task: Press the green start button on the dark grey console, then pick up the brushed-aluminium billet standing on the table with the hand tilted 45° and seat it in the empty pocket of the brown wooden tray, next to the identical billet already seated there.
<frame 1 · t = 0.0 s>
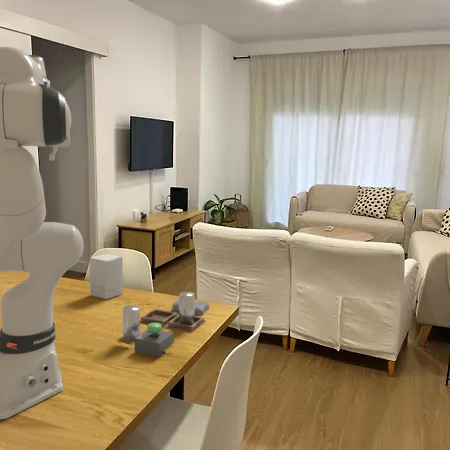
hand: (35, 159, 135), 52 cm above the table, tool tilted 20°, fingers open, 8 cm apart
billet: (131, 340, 134), on the table
start button: (154, 333, 128), point 4 cm above the table, slide at 0.0 cm
supplement box: (106, 295, 174), on the table
brown wooden tray: (172, 324, 147), on the table
stone block: (191, 312, 160), on the table
console: (154, 348, 129), on the table
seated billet: (186, 324, 145), point 1 cm above the table, touching brown wooden tray
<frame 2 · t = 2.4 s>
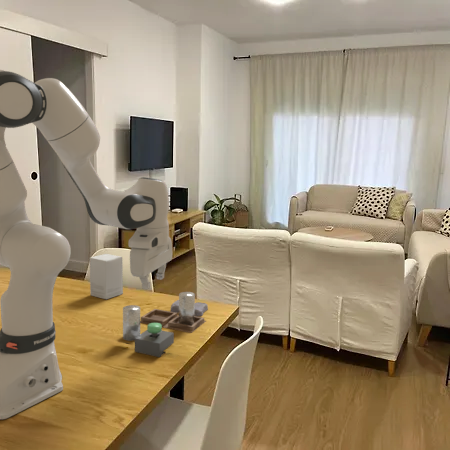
hand: (153, 283, 128), 19 cm above the table, tool pointing down, fingers open, 8 cm apart
stone block: (190, 313, 159), on the table
everything else where it was.
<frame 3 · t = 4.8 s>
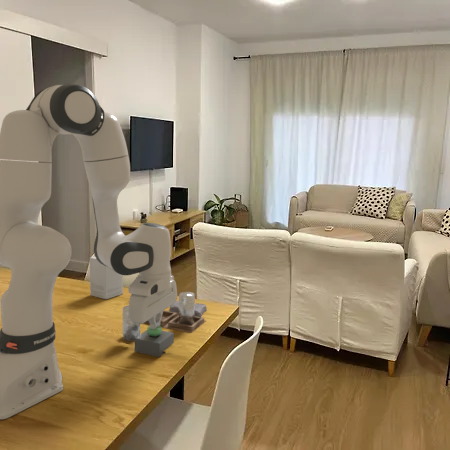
hand: (155, 327, 128), 6 cm above the table, tool pointing down, fingers closed, pressing on start button
start button: (154, 336, 128), point 4 cm above the table, slide at 0.8 cm, touching gripper
stone block: (189, 314, 158), on the table
everything else where it was.
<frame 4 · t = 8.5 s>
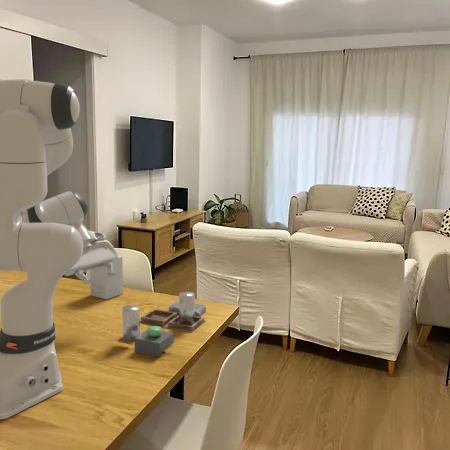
hand: (101, 279, 138), 16 cm above the table, tool tilted 45°, fingers open, 8 cm apart
start button: (154, 337, 128), point 3 cm above the table, slide at 1.0 cm
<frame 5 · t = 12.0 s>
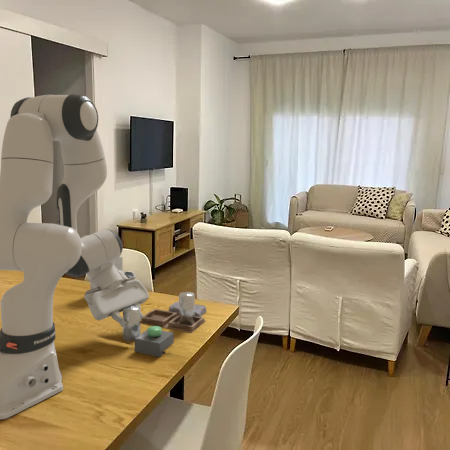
hand: (133, 321, 133), 6 cm above the table, tool tilted 45°, fingers closed on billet, 5 cm apart
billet: (131, 340, 134), on the table, touching gripper
stone block: (188, 315, 157), on the table, touching brown wooden tray
everything else where it was.
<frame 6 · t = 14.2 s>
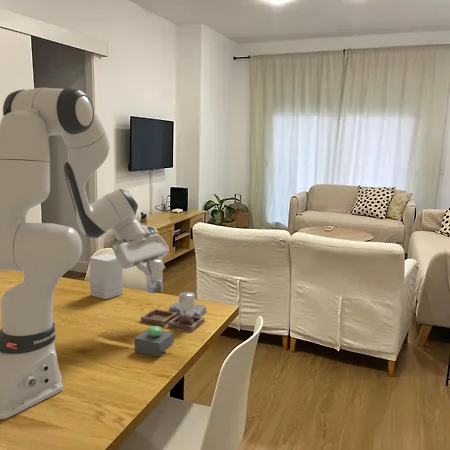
hand: (156, 271, 143), 18 cm above the table, tool tilted 45°, fingers closed on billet, 5 cm apart
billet: (154, 290, 145), point 11 cm above the table, touching gripper
stone block: (188, 315, 156), on the table
everything else where it was.
when the fingers open (8 cm above the table, at t = 16.5 s): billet stays where it is, resting on brown wooden tray.
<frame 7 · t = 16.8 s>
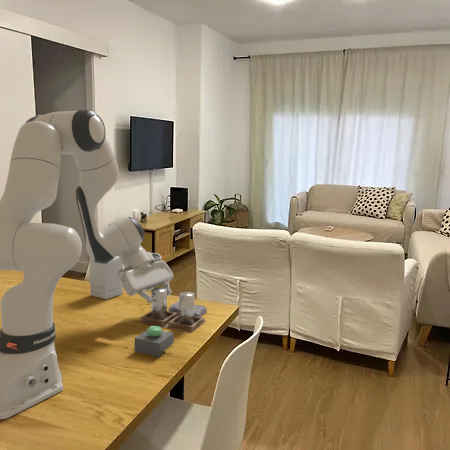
hand: (160, 298, 147), 8 cm above the table, tool tilted 45°, fingers open, 8 cm apart
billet: (159, 319, 149), point 1 cm above the table, touching brown wooden tray
everything else where it was.
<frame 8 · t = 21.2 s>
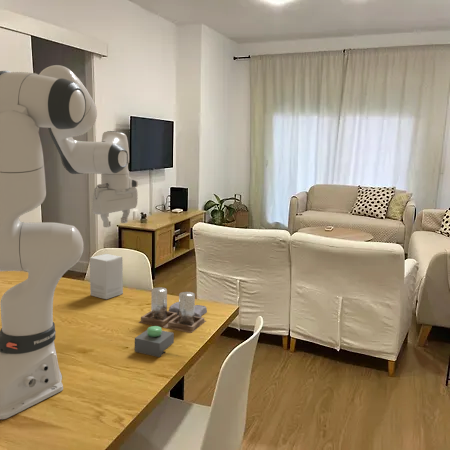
hand: (115, 224, 149), 31 cm above the table, tool pointing down, fingers open, 8 cm apart
nothing on the table moved.
at the end: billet 0.1 cm from the target spot on the brown wooden tray, point 1.0 cm above the brown wooden tray's base; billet tilted 0°; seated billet moved 0.0 cm from its start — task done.
